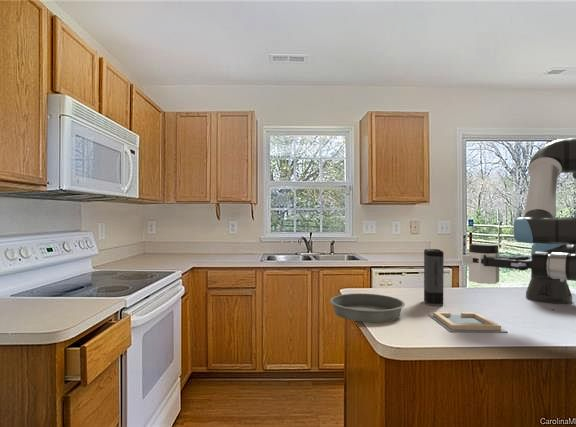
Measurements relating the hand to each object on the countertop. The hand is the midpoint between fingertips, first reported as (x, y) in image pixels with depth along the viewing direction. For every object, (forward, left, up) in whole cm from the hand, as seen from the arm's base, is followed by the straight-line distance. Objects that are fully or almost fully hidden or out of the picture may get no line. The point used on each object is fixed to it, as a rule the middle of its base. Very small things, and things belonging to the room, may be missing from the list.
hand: (466, 258), depth 127 cm
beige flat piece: (+5, +10, -19) cm, 22 cm away
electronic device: (+5, -17, -19) cm, 26 cm away
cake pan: (+33, -1, -19) cm, 38 cm away
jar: (-4, +4, -7) cm, 9 cm away
